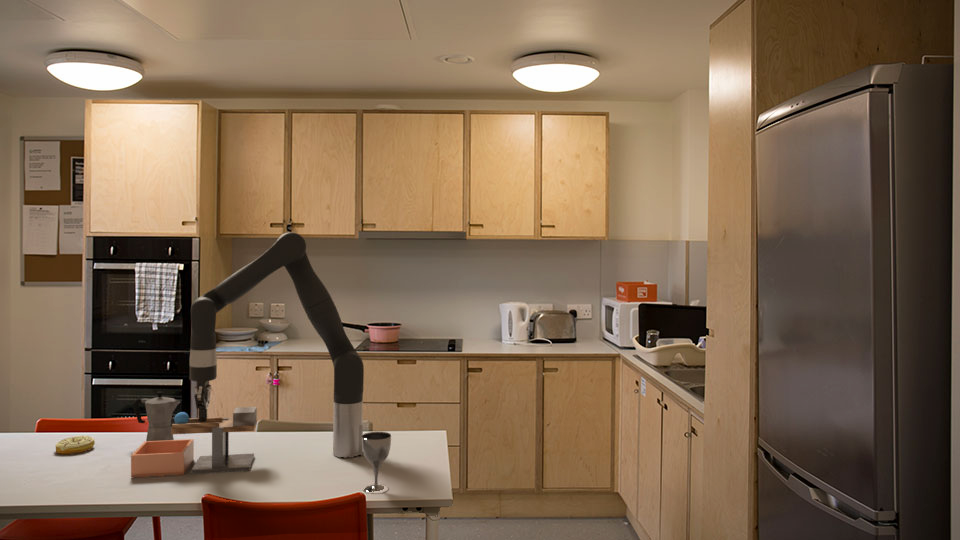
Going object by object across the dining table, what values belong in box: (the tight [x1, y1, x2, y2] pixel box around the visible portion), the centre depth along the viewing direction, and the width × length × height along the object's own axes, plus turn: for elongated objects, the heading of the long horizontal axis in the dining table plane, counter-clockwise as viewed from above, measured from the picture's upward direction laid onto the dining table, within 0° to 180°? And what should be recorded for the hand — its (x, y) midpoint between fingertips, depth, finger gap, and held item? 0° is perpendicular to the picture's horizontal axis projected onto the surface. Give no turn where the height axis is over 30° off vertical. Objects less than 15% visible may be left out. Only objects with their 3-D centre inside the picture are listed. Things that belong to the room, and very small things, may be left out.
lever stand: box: [190, 417, 255, 475], centre depth 200 cm, size 16×13×13 cm
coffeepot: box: [132, 391, 181, 441], centre depth 219 cm, size 15×9×18 cm, turn 92°
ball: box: [173, 411, 190, 424], centre depth 197 cm, size 4×4×4 cm
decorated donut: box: [55, 435, 96, 455], centre depth 213 cm, size 10×11×4 cm
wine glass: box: [362, 431, 392, 493], centre depth 183 cm, size 8×8×15 cm
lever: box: [171, 406, 258, 435], centre depth 199 cm, size 23×8×6 cm, turn 103°
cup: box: [130, 438, 195, 478], centre depth 197 cm, size 14×14×6 cm
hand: (202, 420), depth 199 cm, fingers closed
